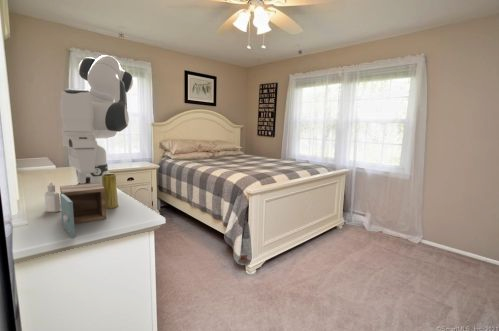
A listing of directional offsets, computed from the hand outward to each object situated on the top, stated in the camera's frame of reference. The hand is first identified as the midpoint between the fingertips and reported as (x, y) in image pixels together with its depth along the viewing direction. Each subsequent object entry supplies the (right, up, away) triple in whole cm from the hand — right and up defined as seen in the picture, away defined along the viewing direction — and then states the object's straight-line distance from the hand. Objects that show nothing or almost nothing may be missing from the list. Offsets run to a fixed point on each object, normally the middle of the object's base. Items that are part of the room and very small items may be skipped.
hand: (81, 182), depth 86 cm
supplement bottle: (-19, -12, +33) cm, 40 cm away
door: (-5, -16, 0) cm, 17 cm away
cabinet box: (-8, -14, +15) cm, 22 cm away
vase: (-6, -13, +29) cm, 32 cm away
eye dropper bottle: (-25, -13, +22) cm, 36 cm away
